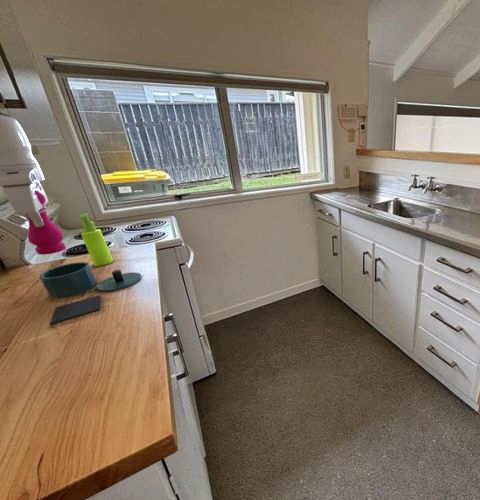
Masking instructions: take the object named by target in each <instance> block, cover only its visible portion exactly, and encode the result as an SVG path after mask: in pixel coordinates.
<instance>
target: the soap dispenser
mask: <svg viewBox="0 0 480 500" xmlns="http://www.w3.org/2000/svg"><path fill="white" fill-rule="evenodd" d="M79 218H80V219H81V220H82V223H81V227H82V230H83V231H82V232H80V236H81V238H82V241H83V243H84V244H85V247H86V250H87V252H88V254H89V256H90V259H91V261H92V263H93V265H94V267H100V266H101V267H102V266H105V265H108V264H111V263H112V262H114V259H113V256H112V254H111V252H110V249H109V246H108V244H107V242H106V239H105V237H104V234H103V232H102V229H100V228H96V225H95V223H94V221H92V220H90V218H89V214H88V213H80V214H79Z"/></svg>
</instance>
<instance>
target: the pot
mask: <svg viewBox="0 0 480 500" xmlns="http://www.w3.org/2000/svg"><path fill="white" fill-rule="evenodd" d="M39 279H40V281H41V283H42V286H43V287H44V289H45V291H46V293H47V295H48V296H49V298H51V299H53V300H54V299H55V300H56V299H57V300H60V299H66V298H70V297H74V296H77V295H81V294H83V293H86V292H88V291H90V290H92V289H94V288H95V287H97V285H98V281H97V279H96V276H95V274H94V272H93V269H92V268H91V264H90V262H89V263H88V262H86V261H85V262H84V261H79V262H71V263H67V264H62V265H59V266H55V267H52V268H50V269H48V270H46V271H44V272H42V273H40V275H39Z"/></svg>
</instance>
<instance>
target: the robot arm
mask: <svg viewBox="0 0 480 500" xmlns="http://www.w3.org/2000/svg"><path fill="white" fill-rule="evenodd" d="M42 171H43V170H42V168H41V167H40V164H39V161H37V159H36V158H35V157H34V155H33V153H32V146H31V143H30V141H29V139H28V137H27V134H26V133H25V131H24V129H23V128H22V126H21V124H20V123H19V121H18V120H17V119H16V118H14V117H13V116H11V115H9V114H8V113H4V112H0V188H1V190H2V192H3V194H4V196H5V197H6V199H7V200H8V203H9V204H10V206H11V207H12V209H13V210H14V211H15V213H16V214H17V215H19V216H24V215H25V216H26V214H27V215H28V216H29V218H30V219H31V220H32V221H33V223H34V225H35V226H36V227H40V226H43V225H44V221H43V219H42V218H41V216H40V213H39V210H40V209H41V208H42V207H43V206H42V204H41V203H40V202H39V200H38V197H37V195H35V190H36V191H39V192H41V193H42V194H43V195H44V196H45V199H46V201H45V203H44V206H46V205H47V204H48V203H49V198H48V196H47V194H46V192H45V189H44V187H43V185H42V184H41V182H42V181H45V180H46V179H45V176H44V173H43V172H42Z"/></svg>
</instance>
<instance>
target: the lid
mask: <svg viewBox="0 0 480 500" xmlns="http://www.w3.org/2000/svg"><path fill="white" fill-rule="evenodd" d="M111 275H112V276H109V277H108V278H106V279H103V280H102V281H101V282H99V283H97V285H96V289H97V291H99V292H114V291H118V290H122V289H125V288H128V287H132V286H133V285H135V284H137V283H138V282H140V281H141V280H142V278H143V276H142V274H141V273H140V272H126V273H122V270H121V269H116V270H113V271H111Z"/></svg>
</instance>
